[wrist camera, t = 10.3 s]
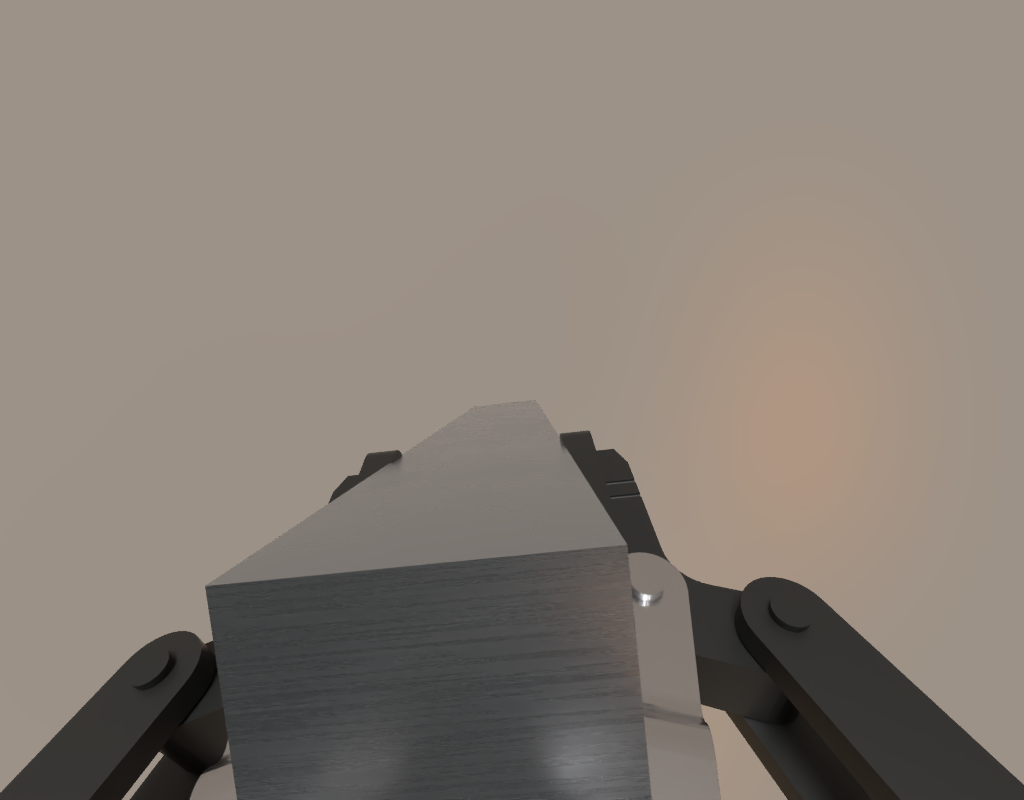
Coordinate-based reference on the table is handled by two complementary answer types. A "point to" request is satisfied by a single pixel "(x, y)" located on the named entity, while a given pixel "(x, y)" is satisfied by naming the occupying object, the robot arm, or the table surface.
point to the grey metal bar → (440, 633)
